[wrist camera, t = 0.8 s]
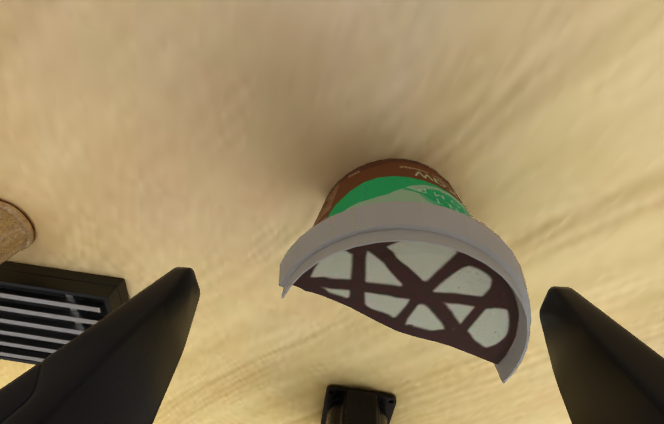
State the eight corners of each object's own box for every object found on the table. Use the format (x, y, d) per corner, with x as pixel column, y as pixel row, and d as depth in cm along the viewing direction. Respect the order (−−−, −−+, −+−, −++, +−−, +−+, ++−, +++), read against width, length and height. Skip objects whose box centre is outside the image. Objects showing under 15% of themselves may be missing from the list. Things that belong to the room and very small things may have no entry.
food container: (522, 189, 23) (613, 301, 14) (465, 259, 26) (513, 387, 17) (343, 105, 21) (325, 175, 13) (305, 190, 24) (269, 293, 16)
